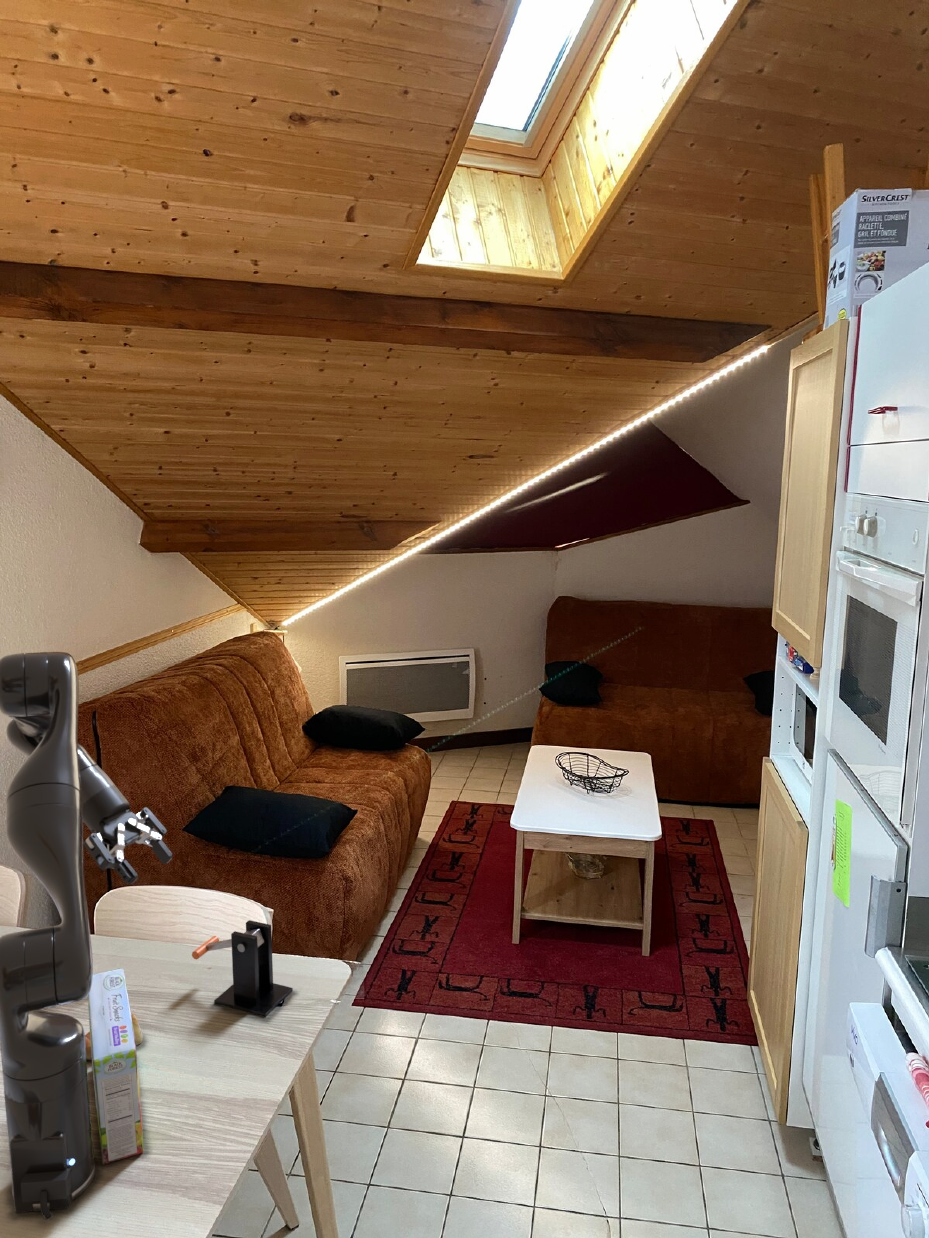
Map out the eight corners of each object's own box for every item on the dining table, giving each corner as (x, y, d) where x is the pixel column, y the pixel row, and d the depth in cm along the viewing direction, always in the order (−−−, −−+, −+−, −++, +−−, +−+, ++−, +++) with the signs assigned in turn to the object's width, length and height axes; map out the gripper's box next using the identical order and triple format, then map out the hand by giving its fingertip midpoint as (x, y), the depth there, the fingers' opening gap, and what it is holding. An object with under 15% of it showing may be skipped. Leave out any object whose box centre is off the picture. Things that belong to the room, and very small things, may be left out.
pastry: (83, 1070, 133) (81, 1047, 132) (70, 1048, 138) (68, 1025, 138) (146, 1045, 139) (145, 1022, 138) (131, 1025, 144) (130, 1003, 143)
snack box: (91, 1068, 134) (85, 974, 131) (132, 1058, 136) (126, 965, 133) (99, 1167, 114) (92, 1059, 112) (146, 1153, 117) (139, 1047, 114)
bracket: (214, 1006, 149) (211, 934, 147) (243, 981, 156) (240, 912, 154) (265, 1020, 145) (263, 946, 143) (292, 994, 152) (290, 923, 150)
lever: (194, 962, 151) (189, 949, 151) (214, 946, 156) (210, 933, 156) (250, 953, 146) (246, 939, 146) (270, 937, 151) (265, 923, 151)
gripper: (75, 799, 149) (134, 876, 147) (135, 772, 162) (191, 842, 160) (52, 825, 152) (110, 900, 150) (114, 796, 165) (168, 866, 163)
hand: (152, 870), depth 155 cm, fingers open, 8 cm apart
